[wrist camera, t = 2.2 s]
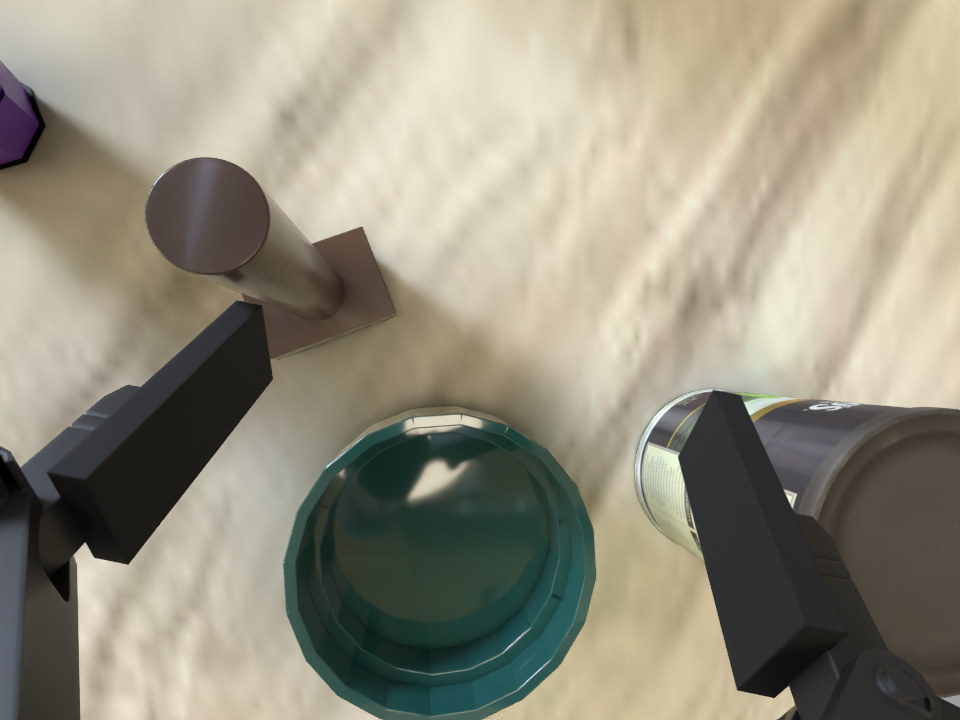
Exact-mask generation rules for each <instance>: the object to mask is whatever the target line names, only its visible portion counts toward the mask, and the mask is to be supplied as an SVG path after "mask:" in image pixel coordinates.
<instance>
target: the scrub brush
mask: <svg viewBox="0 0 960 720" xmlns="http://www.w3.org/2000/svg"><path fill="white" fill-rule="evenodd" d="M145 221H146V227H147V230H148V233H149V236H150V238H151V240H152V242H153V244H154V246H155V247H156V249H157V250H158V251H159V252H160V253H161V255H162V256H163V257H164V258H166V259H167V260H168V261H169V262H170V263H172V264H173V265H175V266H177V267H179V268H180V269H182V270H185V271H187V272H190V273H192V274H195V275H197V276H200V277H202V278H205V279H207V280H210V281H212V282H215V283H217V284H220V285H222V286H225V287H227V288H230V289H232V290H235V291H237V292H240V293H241V294H242V296H243V299H244V301H245V302H247V303H252V304H258V305H262V307H263V314H264V321H265V328H266V335H267V342H268V349H269V356H270V359H276V360H279V359H282V358H284V357H287V356H290V355H292V354H295V353H298V352H300V351H303V350H306V349H308V348H311V347H314V346H317V345H319V344H322V343H325V342H327V341H330V340H333V339H335V338H338V337H341V336H343V335H346V334H349V333H351V332H354V331H357V330H360V329H362V328H365V327H368V326H370V325H373V324H376V323H378V322H381V321H384V320H386V319H389V318H392V317H394V316H396V315H397V314H396V311H395V309H394V306H393V304H392V301H391V299H390V296H389V293H388V291H387V288H386V286H385V283H384V281H383V278H382V276H381V273H380V270H379V268H378V265H377V263H376V260H375V258H374V255H373V253H372V250H371V248H370V245H369V242H368V240H367V237H366V235H365V232H364V230H363V227H359V228H356V229H353V230H350V231H348V232H345V233H342V234H339V235H336V236H333V237H330V238H327V239H324V240H322V241H319V242H316V243H313V244H311V243H310V242H309V241H308V240H307V238H306V237H305V236H304V235H303V234H302V233H301V232H300V230H299V229H298V228H297V227H296V226H295V225H294V224H293V222H292V221H291V220H290V219H289V218H288V217H287V215H286V214H285V213H284V212H283V211H282V210H281V209H280V207H279V206H278V205H277V204H276V203H275V202H274V201H273V199H272V198H271V197H270V196H269V195H268V194H267V193H266V191H265V190H264V189H263V188H262V187H261V186H260V185H259V183H258V182H257V181H256V180H255V179H254V178H253V177H252V176H251V175H250V174H249V173H248V172H247V171H245V170H244V169H242V168H241V167H239V166H237V165H235V164H233V163H231V162H228V161H225V160H222V159H217V158H193V159H189V160H185V161H183V162H180V163H178V164H176V165H174V166H172V167H170V168H169V169H168V170H166V171H165V172H164V173H163V174H162V175H161V176H160V177H159V178H158V179H157V180H156V182H155V183H154V185H153V186H152V188H151V190H150V192H149V195H148V197H147V201H146V206H145Z"/></svg>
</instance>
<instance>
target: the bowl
mask: <svg viewBox="0 0 960 720" xmlns="http://www.w3.org/2000/svg"><path fill="white" fill-rule="evenodd" d="M283 569H284V587H285V604H286V613H287V616H288V619H289V621H290V624H291V626H292V629H293V631H294V633H295V636H296V638H297V641H298V643H299V645H300V648H301V650H302V653H303V655H304V658H305V659H306V661H307V662H308V663H309V664H310V666H311V667H312V668H313V669H314V670H315V671H316V672H317V673H318V674H319V676H320V677H321V678H322V679H323V680H324V681H325V682H326V683H327V685H328V686H329V687H330V688H331V689H332V690H333V691H334V692H335V693H336V695H337V696H339V697H341V698H342V699H344V700H346V701H348V702H350V703H352V704H353V705H355V706H357V707H359V708H361V709H363V710H364V711H366V712H368V713H370V714H372V715H374V716H375V717H377V718H379V719H382V720H482V719H484V718H486V717H488V716H490V715H492V714H494V713H496V712H498V711H500V710H502V709H504V708H507V707H509V706H511V705H513V704H515V703H517V702H519V701H521V700H523V698H525V697H526V696H527V695H528V694H529V693H531V692H532V691H533V690H534V689H535V688H536V687H537V686H538V685H539V684H540V683H541V682H542V681H544V680H545V679H546V678H547V677H548V676H549V675H550V674H551V673H552V672H553V671H554V670H555V669H556V668H558V667H559V665H560V664H561V662H562V661H563V659H564V657H565V656H566V654H567V652H568V651H569V649H570V647H571V646H572V644H573V642H574V641H575V639H576V637H577V635H578V634H579V632H580V630H581V629H582V627H583V625H584V623H585V620H586V616H587V612H588V608H589V604H590V600H591V596H592V592H593V588H594V584H595V580H596V564H595V546H594V531H593V527H592V524H591V521H590V519H589V516H588V514H587V511H586V508H585V506H584V503H583V500H582V498H581V495H580V493H579V490H578V487H577V486H576V484H575V483H574V482H573V481H572V479H571V478H570V477H569V476H568V474H567V473H566V472H565V471H564V469H563V468H562V467H561V466H560V465H559V463H558V462H557V461H556V460H555V458H554V457H553V456H552V455H551V453H550V452H549V451H548V450H547V449H545V448H544V447H542V446H541V445H539V444H538V443H536V442H535V441H533V440H532V439H530V438H529V437H527V436H526V435H524V434H523V433H521V432H519V431H518V430H516V429H515V428H513V427H512V426H510V425H508V424H507V423H505V422H504V421H502V420H501V419H499V418H497V417H496V416H493V415H490V414H486V413H482V412H478V411H474V410H470V409H466V408H462V407H458V406H442V407H428V408H414V409H410V410H408V411H405V412H403V413H400V414H398V415H395V416H393V417H390V418H388V419H385V420H383V421H380V422H377V423H375V424H373V425H371V426H370V427H369V428H368V429H366V430H365V431H364V432H363V433H361V434H360V435H359V436H358V437H357V438H355V439H354V440H353V441H352V442H350V443H349V444H348V445H347V446H346V447H344V448H343V449H342V450H341V451H339V453H338V454H337V455H336V456H335V457H334V459H333V460H332V461H331V462H330V463H329V464H328V466H327V467H326V468H325V469H324V471H323V472H322V474H321V475H320V477H319V478H318V480H317V481H316V483H315V484H314V486H313V488H312V489H311V491H310V492H309V494H308V495H307V497H306V498H305V500H304V501H303V503H302V504H301V506H300V507H299V509H298V510H297V513H296V516H295V520H294V523H293V527H292V531H291V535H290V538H289V542H288V546H287V549H286V553H285V557H284V562H283Z"/></svg>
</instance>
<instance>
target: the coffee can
mask: <svg viewBox="0 0 960 720" xmlns="http://www.w3.org/2000/svg"><path fill="white" fill-rule="evenodd" d="M713 390H718V391H723V392H728V393H734V394H739V395H741V397H742V400H743V402H744V404H745V406H746V408H747V411H748V413H749V415H750V417H751V419H752V421H753V424H754V426H755V428H756V430H757V432H758V435H759V437H760V439H761V441H762V443H763V446H764V448H765V450H766V452H767V454H768V456H769V459H770V461H771V463H772V465H773V467H774V470H775V472H776V474H777V476H778V478H779V481H780V483H781V485H782V487H783V489H784V491H785V494H786V496H787V498H788V500H789V502H790V505H791V507H792V509H793V511H794V513H797V514H803V515H808V516H813V517H814V518H815V520H816V521H817V522H818V523H819V524H820V525H821V526H822V527H823V529H824V530H825V531H826V532H827V533H828V534H829V535H830V536H831V538H832V540H833V542H834V544H835V546H836V548H837V550H838V552H839V554H840V556H841V558H842V559H841V561H842V563H844V564H845V566H846V568H847V570H848V572H849V574H850V576H851V577H850V579H851V581H854V583H855V585H856V587H857V589H858V591H859V593H860V595H861V597H862V599H863V601H864V603H865V605H866V607H867V609H868V611H869V613H870V615H871V617H872V619H873V621H874V623H875V625H876V627H877V629H878V631H879V633H880V635H881V637H882V639H883V641H884V643H885V645H886V647H887V648H888V650H889V652H891V653H893V654H894V655H896V656H898V657H899V658H901V659H903V660H904V661H906V662H907V663H909V664H910V665H911V666H912V667H913V668H914V669H915V670H916V671H917V672H919V673H920V674H921V675H922V676H923V677H924V679H925V680H926V681H927V683H928V684H929V685H930V687H931V688H932V689H933V691H934V692H935V694H936V696H938V697H939V698H943V697H944V698H945V697H951V696H955V695H959V694H960V410H957V409H948V408H934V407H915V408H903V407H892V406H880V405H870V404H860V403H850V402H837V401H827V400H814V399H802V398H792V397H781V396H769V395H760V394H749V393H739V392H732V391H727V390H720V389H706V390H699V391H694V392H690V393H688V394H685V395H682V396H680V397H678V398H676V399H675V400H673V401H672V402H670V403H669V404H667V405H666V406H665V407H664V408H663V409H661V410H660V411H659V412H658V414H657V415H656V416H655V417H654V418H653V419H652V421H651V422H650V424H649V425H648V426H647V428H646V430H645V432H644V434H643V436H642V438H641V440H640V443H639V446H638V449H637V454H636V460H635V483H636V488H637V493H638V497H639V500H640V503H641V506H642V508H643V510H644V511H645V513H646V514H647V516H648V518H649V519H650V521H651V522H652V523H653V524H654V526H655V527H656V528H657V529H658V530H659V531H660V532H661V533H662V534H663V535H665V536H666V537H667V538H669V539H670V540H672V541H673V542H675V543H677V544H679V545H681V546H683V547H684V548H686V549H687V550H689V551H690V552H691V553H693V554H694V555H696V556H697V557H698V558H700V559H701V560H703V561H704V558H703V554H702V550H701V546H700V542H699V538H698V534H697V530H696V527H695V523H694V519H693V515H692V511H691V507H690V503H689V499H688V495H687V491H686V487H685V483H684V479H683V476H682V472H681V468H680V464H679V460H678V455H679V454H680V452H681V450H682V448H683V446H684V444H685V442H686V440H687V438H688V436H689V435H690V433H691V431H692V429H693V427H694V425H695V423H696V421H697V419H698V417H699V416H700V414H701V412H702V410H703V408H704V406H705V404H706V402H707V400H708V398H709V397H710V395H711V393H712V391H713Z"/></svg>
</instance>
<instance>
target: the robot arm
mask: <svg viewBox="0 0 960 720" xmlns="http://www.w3.org/2000/svg"><path fill="white" fill-rule="evenodd" d="M272 380H273V377H272V370H271V363H270V356H269V349H268V342H267V335H266V328H265V321H264V314H263V307H262V305H258V304H252V303H247V302H242V301H236V302H235V303H234V304H233V305H231V306H230V307H229V308H228V309H227V310H226V311H225V312H224V313H223V314H221V315H220V316H219V317H218V318H217V319H216V320H215V321H214V322H213V323H211V324H210V325H209V326H208V327H207V328H206V329H205V330H204V331H203V332H201V333H200V334H199V335H198V336H197V337H196V338H195V339H194V340H193V341H191V342H190V343H189V344H188V345H187V346H186V347H185V348H184V349H183V350H181V351H180V352H179V353H178V354H177V355H176V356H175V357H174V358H173V359H171V360H170V361H169V362H168V363H167V364H166V365H165V366H164V367H163V368H161V369H160V370H159V371H158V372H157V373H156V374H155V375H154V376H153V377H151V378H150V379H149V380H148V381H147V382H146V383H145V384H144V385H143V386H141V387H137V386H131V385H127V386H125V387H123V388H120V389H118V390H116V391H114V392H112V393H110V394H108V395H106V396H104V397H103V398H102V399H101V400H100V401H98V402H97V403H96V404H95V405H94V406H93V407H91V408H90V409H89V410H88V411H87V413H86V415H82V416H81V417H80V418H78V419H77V420H76V421H75V422H74V423H73V424H72V427H68V428H67V429H65V430H64V431H63V432H62V433H61V434H60V435H58V436H57V437H56V438H55V439H54V440H52V441H51V442H50V443H49V444H48V445H47V446H45V447H44V448H43V449H42V450H41V451H40V452H38V453H37V454H36V455H35V456H34V457H32V458H31V459H30V460H29V461H28V462H27V463H25V464H24V465H23V466H22V467H21V468H20V467H19V465H18V463H17V462H16V460H15V458H14V457H13V455H12V453H11V452H10V451H8V450H7V449H5V448H3V447H0V720H80V686H79V641H78V596H77V564H76V561H75V559H74V556H73V555H74V554H75V553H76V552H77V550H78V549H79V548H80V547H81V546H82V545H83V544H84V543H85V542H86V544H87V546H88V547H89V549H90V551H91V553H92V554H93V556H94V558H99V559H103V560H108V561H113V562H118V563H123V564H129V563H130V562H131V561H132V559H133V558H134V557H135V555H136V554H137V553H138V552H139V550H140V549H141V548H142V546H143V545H144V544H145V543H146V541H147V540H148V539H149V537H150V536H151V535H152V534H153V532H154V531H155V530H156V528H157V527H158V526H159V525H160V523H161V522H162V521H163V519H164V518H165V517H166V516H167V514H168V513H169V512H170V511H171V509H172V508H173V507H174V505H175V504H176V503H177V502H178V500H179V499H180V498H181V496H182V495H183V494H184V493H185V491H186V490H187V489H188V487H189V486H190V485H191V484H192V482H193V481H194V480H195V478H196V477H197V476H198V475H199V473H200V472H201V471H202V469H203V468H204V467H205V466H206V464H207V463H208V462H209V461H210V459H211V458H212V457H213V455H214V454H215V453H216V452H217V450H218V449H219V448H220V446H221V445H222V444H223V443H224V441H225V440H226V439H227V437H228V436H229V435H230V434H231V432H232V431H233V430H234V428H235V427H236V426H237V425H238V423H239V422H240V421H241V419H242V418H243V417H244V416H245V414H246V413H247V412H248V410H249V409H250V408H251V407H252V405H253V404H254V403H255V402H256V400H257V399H258V398H259V396H260V395H261V394H262V393H263V391H264V390H265V389H266V387H267V386H268V385H269V384H270V382H271V381H272ZM678 460H679V464H680V468H681V472H682V476H683V479H684V483H685V487H686V491H687V495H688V499H689V503H690V507H691V511H692V515H693V519H694V523H695V527H696V530H697V534H698V538H699V542H700V546H701V550H702V554H703V558H704V562H705V566H706V570H707V574H708V578H709V581H710V585H711V589H712V593H713V597H714V601H715V605H716V609H717V613H718V617H719V621H720V625H721V629H722V632H723V636H724V640H725V644H726V648H727V652H728V656H729V660H730V664H731V668H732V672H733V676H734V680H735V683H736V687H737V690H738V691H743V692H748V693H753V694H758V695H762V696H767V697H772V698H775V697H776V696H777V695H778V694H780V693H781V692H782V691H783V690H784V689H785V688H787V687H788V686H789V687H790V690H791V693H792V696H793V699H794V702H795V706H794V707H792V708H791V709H790V710H789V711H787V712H786V713H785V714H784V715H782V716H781V717H780V718H779V719H777V720H960V708H959V707H957V706H955V705H953V704H951V703H949V702H947V701H945V700H943V699H941V698H939V697H938V696H936V694H935V692H934V691H933V689H932V688H931V687H930V685H929V684H928V683H927V681H926V680H925V679H924V677H923V676H922V675H921V674H920V673H919V672H917V671H916V670H915V669H914V668H913V667H912V666H911V665H910V664H909V663H907V662H906V661H904V660H903V659H901V658H899V657H898V656H896V655H894V654H893V653H891V652H889V650H888V648H887V647H886V645H885V643H884V641H883V639H882V637H881V635H880V633H879V631H878V629H877V627H876V625H875V623H874V621H873V619H872V617H871V615H870V613H869V611H868V609H867V607H866V605H865V603H864V601H863V599H862V597H861V595H860V593H859V591H858V589H857V587H856V585H855V583H854V581H851V579H850V577H851V576H850V574H849V572H848V570H847V568H846V566H845V564H844V563H842V561H841V559H842V558H841V556H840V554H839V552H838V550H837V548H836V546H835V544H834V542H833V540H832V538H831V536H830V535H829V534H828V533H827V532H826V531H825V530H824V529H823V527H822V526H821V525H820V524H819V523H818V522H817V521H816V520H815V518H814V517H813V516H808V515H803V514H797V513H794V511H793V509H792V507H791V505H790V502H789V500H788V498H787V496H786V494H785V491H784V489H783V487H782V485H781V483H780V481H779V478H778V476H777V474H776V472H775V470H774V467H773V465H772V463H771V461H770V459H769V456H768V454H767V452H766V450H765V448H764V446H763V443H762V441H761V439H760V437H759V435H758V432H757V430H756V428H755V426H754V424H753V421H752V419H751V417H750V415H749V413H748V411H747V408H746V406H745V404H744V402H743V400H742V397H741V395H739V394H734V393H728V392H723V391H718V390H713V391H712V393H711V395H710V397H709V398H708V400H707V402H706V404H705V406H704V408H703V410H702V412H701V414H700V416H699V417H698V419H697V421H696V423H695V425H694V427H693V429H692V431H691V433H690V435H689V436H688V438H687V440H686V442H685V444H684V446H683V448H682V450H681V452H680V454H679V455H678Z"/></svg>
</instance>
